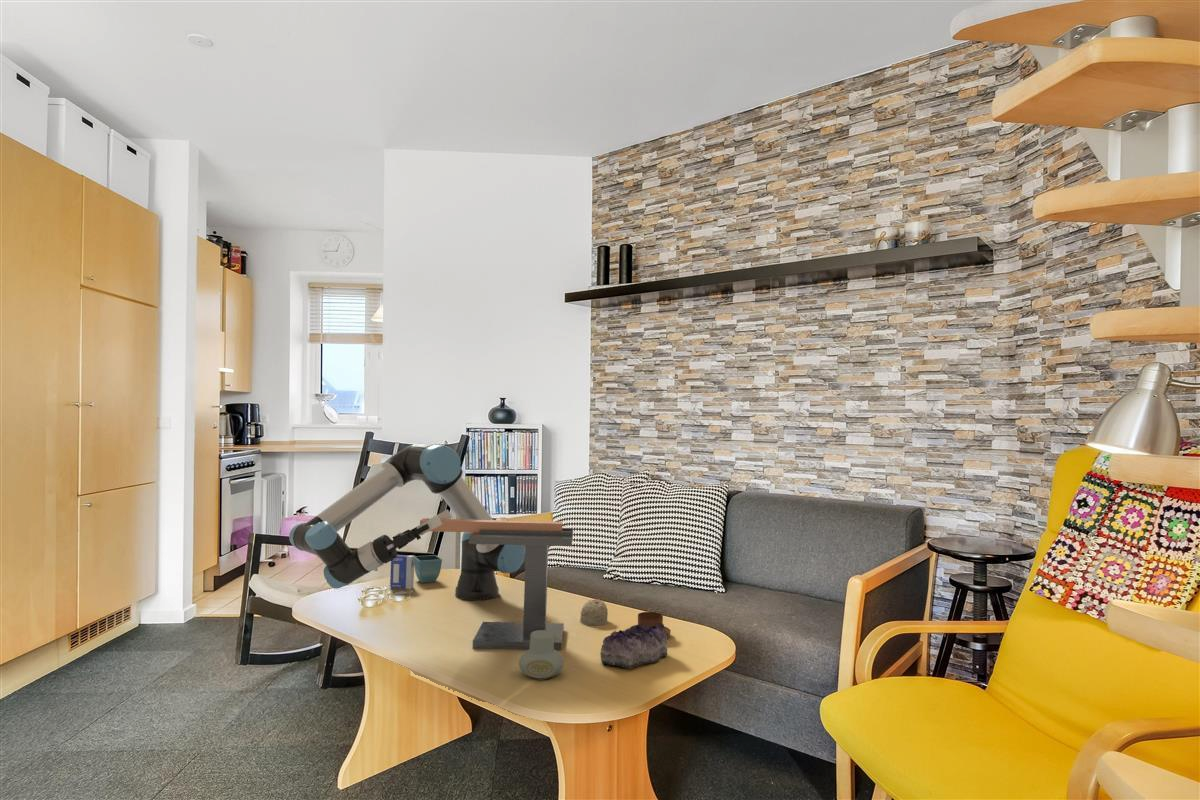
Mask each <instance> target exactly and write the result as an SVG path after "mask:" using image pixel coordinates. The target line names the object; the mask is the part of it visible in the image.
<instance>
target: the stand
mask: <svg viewBox="0 0 1200 800" xmlns="http://www.w3.org/2000/svg"><path fill="white" fill-rule="evenodd" d="M573 537H574V528H573V527H562V531H528V530H485V529H480V533H478V532H473V533H472V534H471V535H470V536H469V544H498V545H524V546H525V556H524V557H525V558H524V561H525V562H524V590H523V592H524V594H523V622H521V621H520V622H519V621H518V622H517V621H509V622H508V621H482V622H481V625H480V627H479V628H478V630H477V632H476V634H475V635H474V638H473V640H472V649H488V650H491V649H492V650H494V649H495V650H497V649H498V650H529V649H530V634H531V633H532V632H533V631H537V630H547V631H551V632H553V634H554V649H555V650H556V651H562V648H563V640H564V628H565V627H564V626H565V625H564V623H563V622H547V598H548V594H547V593H548V567H549V566H548V565H549V563H548V561H549V547H550V546H553V547H572V545H573Z"/></svg>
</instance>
